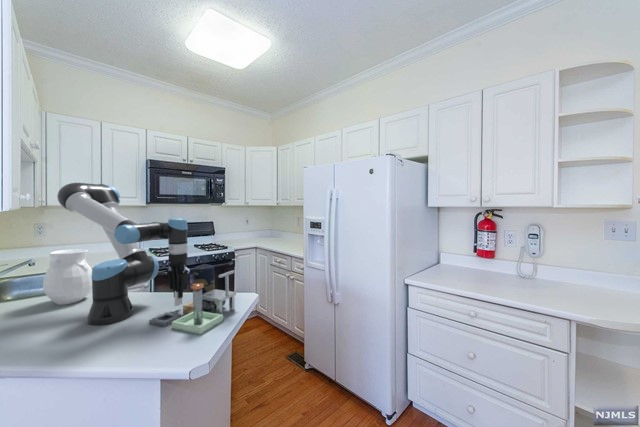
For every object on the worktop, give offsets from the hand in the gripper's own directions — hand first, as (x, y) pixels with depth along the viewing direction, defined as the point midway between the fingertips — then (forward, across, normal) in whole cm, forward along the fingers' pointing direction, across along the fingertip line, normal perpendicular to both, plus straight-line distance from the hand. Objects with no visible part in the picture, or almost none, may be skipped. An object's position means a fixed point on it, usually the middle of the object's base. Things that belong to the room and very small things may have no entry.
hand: (178, 304), depth 119 cm
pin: (+1, +20, -9) cm, 22 cm away
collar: (+2, +6, -11) cm, 12 cm away
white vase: (+4, -60, -10) cm, 60 cm away
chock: (+2, +9, -1) cm, 10 cm away
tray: (+2, +20, -9) cm, 22 cm away
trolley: (+2, +18, +4) cm, 19 cm away
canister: (+2, +2, +13) cm, 14 cm away
